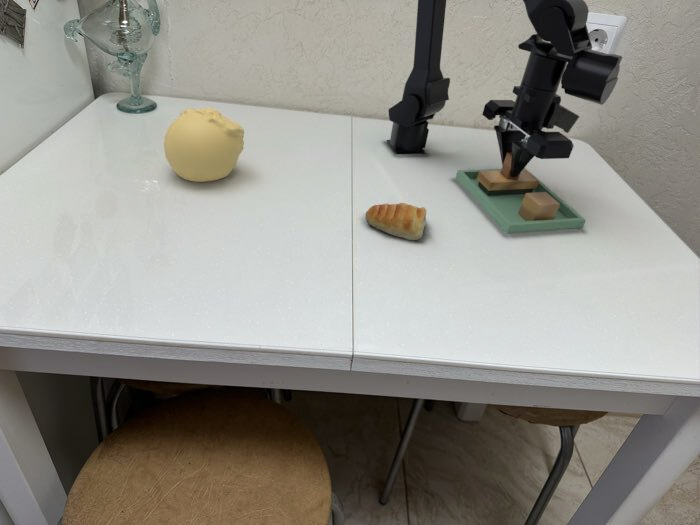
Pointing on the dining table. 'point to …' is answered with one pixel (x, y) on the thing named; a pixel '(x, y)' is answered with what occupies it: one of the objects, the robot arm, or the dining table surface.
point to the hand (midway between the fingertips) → (509, 173)
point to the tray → (518, 207)
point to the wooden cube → (538, 207)
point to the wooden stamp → (506, 180)
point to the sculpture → (203, 145)
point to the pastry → (398, 219)
